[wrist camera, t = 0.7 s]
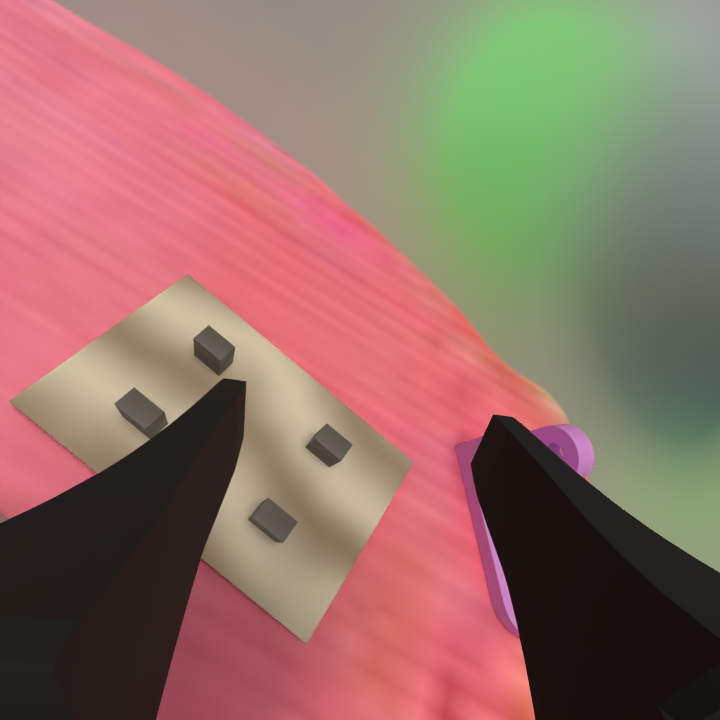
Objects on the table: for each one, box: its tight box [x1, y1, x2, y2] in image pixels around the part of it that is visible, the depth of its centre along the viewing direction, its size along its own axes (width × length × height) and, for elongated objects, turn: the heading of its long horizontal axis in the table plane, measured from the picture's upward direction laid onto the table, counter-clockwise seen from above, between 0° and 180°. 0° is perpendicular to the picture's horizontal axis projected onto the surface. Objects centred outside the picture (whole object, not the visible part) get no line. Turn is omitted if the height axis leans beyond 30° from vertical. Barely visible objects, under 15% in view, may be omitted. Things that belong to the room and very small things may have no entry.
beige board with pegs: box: [9, 274, 414, 644], centre depth 23 cm, size 12×20×4 cm, turn 54°
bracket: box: [455, 424, 594, 637], centre depth 25 cm, size 13×6×7 cm, turn 9°
